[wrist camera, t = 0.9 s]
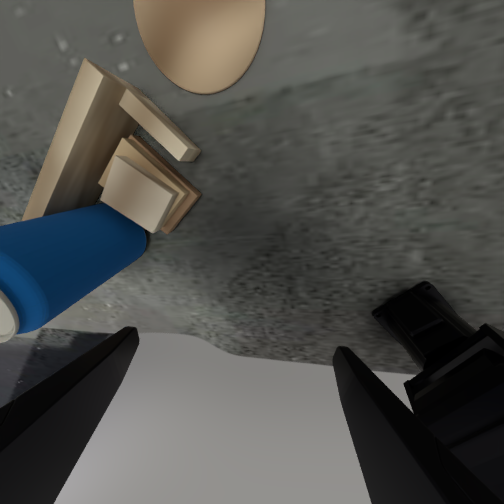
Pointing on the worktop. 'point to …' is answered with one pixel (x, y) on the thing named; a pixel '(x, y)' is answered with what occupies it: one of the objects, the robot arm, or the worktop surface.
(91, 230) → the beverage can
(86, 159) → the rack
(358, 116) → the worktop surface
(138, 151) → the offcut stack
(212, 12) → the cork coaster
